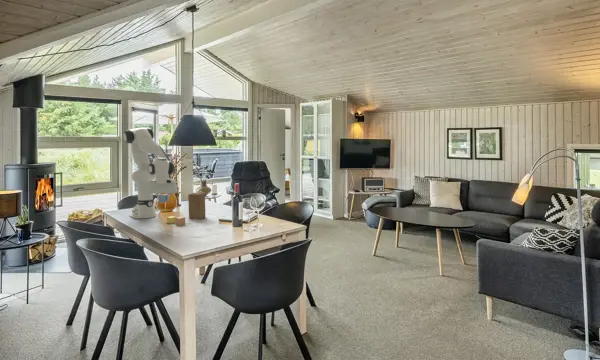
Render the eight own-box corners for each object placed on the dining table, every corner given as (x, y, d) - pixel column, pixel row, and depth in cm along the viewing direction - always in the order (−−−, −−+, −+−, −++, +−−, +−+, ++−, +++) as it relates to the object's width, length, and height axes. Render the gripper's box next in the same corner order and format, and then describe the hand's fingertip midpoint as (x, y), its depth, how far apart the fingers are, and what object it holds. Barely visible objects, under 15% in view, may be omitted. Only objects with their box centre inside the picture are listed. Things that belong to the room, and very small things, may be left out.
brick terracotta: (175, 224, 271) (175, 217, 271) (180, 223, 275) (180, 216, 275) (179, 225, 269) (179, 218, 268) (185, 224, 273) (185, 217, 272)
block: (200, 219, 291) (199, 194, 289) (188, 219, 293) (187, 194, 291) (206, 217, 301) (205, 192, 299) (194, 216, 303) (193, 192, 301)
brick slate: (158, 202, 265) (158, 195, 264) (161, 201, 270) (161, 194, 269) (165, 202, 265) (165, 195, 264) (168, 201, 270) (168, 194, 269)
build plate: (168, 226, 270) (168, 224, 270) (181, 222, 280) (181, 221, 280) (179, 228, 264) (179, 227, 264) (192, 224, 274) (192, 223, 274)
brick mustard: (166, 223, 278) (166, 217, 278) (172, 222, 282) (172, 216, 282) (171, 224, 275) (170, 217, 275) (176, 223, 280) (176, 216, 279)
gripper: (146, 181, 263) (147, 200, 265) (174, 180, 262) (175, 200, 264) (150, 180, 269) (151, 199, 271) (178, 179, 268) (178, 198, 270)
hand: (163, 199), depth 267 cm, fingers closed on brick slate, 5 cm apart
